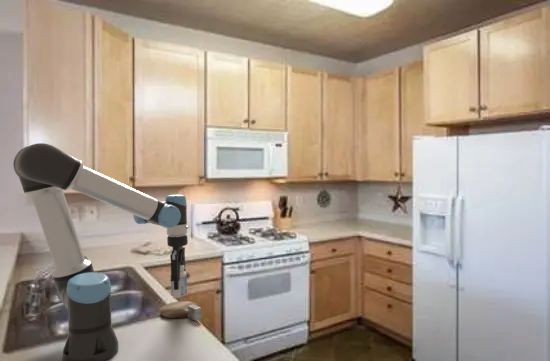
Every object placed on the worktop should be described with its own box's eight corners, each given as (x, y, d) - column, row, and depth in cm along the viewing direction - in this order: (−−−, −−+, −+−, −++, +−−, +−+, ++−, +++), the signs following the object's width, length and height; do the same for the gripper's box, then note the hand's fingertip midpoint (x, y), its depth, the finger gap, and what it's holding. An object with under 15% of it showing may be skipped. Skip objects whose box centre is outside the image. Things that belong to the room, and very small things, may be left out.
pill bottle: (178, 291, 151) (177, 263, 150) (190, 293, 148) (189, 265, 148) (167, 296, 145) (166, 267, 145) (179, 298, 143) (178, 269, 142)
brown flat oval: (153, 312, 146) (153, 301, 146) (184, 302, 157) (184, 292, 157) (182, 325, 133) (181, 314, 133) (213, 314, 143) (213, 303, 143)
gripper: (181, 239, 136) (183, 303, 137) (192, 230, 155) (193, 286, 156) (160, 240, 136) (162, 303, 137) (173, 231, 155) (175, 286, 156)
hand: (179, 294), depth 147 cm, fingers closed on pill bottle, 6 cm apart
